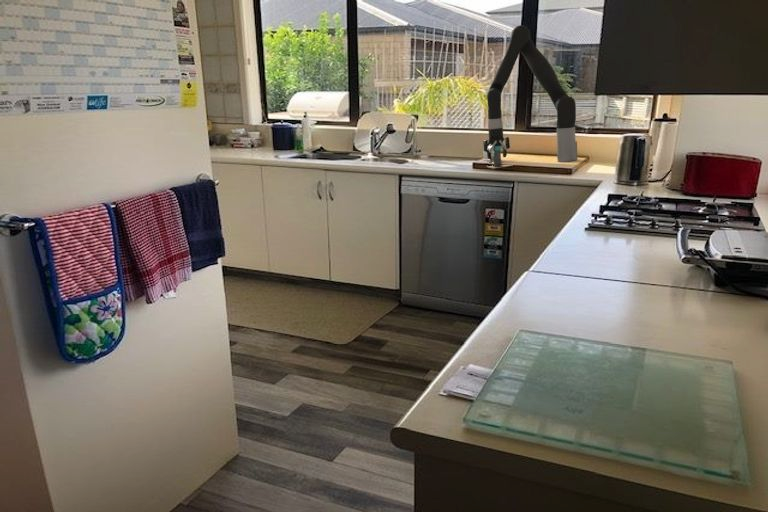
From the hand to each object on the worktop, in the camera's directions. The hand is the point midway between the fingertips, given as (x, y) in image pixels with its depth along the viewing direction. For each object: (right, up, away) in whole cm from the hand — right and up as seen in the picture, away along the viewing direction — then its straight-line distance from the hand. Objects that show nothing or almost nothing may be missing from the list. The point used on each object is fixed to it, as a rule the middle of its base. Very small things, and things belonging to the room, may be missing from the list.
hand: (497, 158), depth 317 cm
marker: (0, -4, +1) cm, 4 cm away
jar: (+1, +2, +23) cm, 24 cm away
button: (0, +1, +12) cm, 12 cm away
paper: (+2, -4, +3) cm, 5 cm away
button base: (0, -1, +12) cm, 12 cm away
